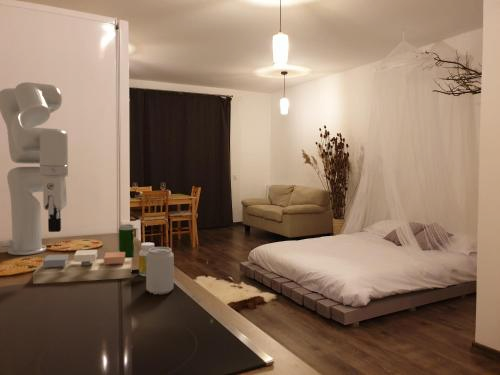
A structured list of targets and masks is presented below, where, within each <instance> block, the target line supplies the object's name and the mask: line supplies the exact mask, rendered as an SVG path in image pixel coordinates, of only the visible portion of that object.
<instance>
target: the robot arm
mask: <svg viewBox="0 0 500 375" xmlns="http://www.w3.org/2000/svg"><path fill="white" fill-rule="evenodd" d="M62 101H63V98H62V93H61V90H60V89H59V87H57V86H55V85H53V84H46V83H39V82H30V81H29V82H27V81H26V82H21V83H19V84H17V85H16V86H15V88H13V87H11V88H10V87H8V88H3V89H1V90H0V115H1V117H2V120H3V122H4V124H5V125H6V129H7V141H8V150H9V156H10V159H11V161H12V163H15V164H21V165H22V164H23V165H24V164H25V165H31V164H34V165H37V164H38V165H39V166H17V167H14V168H11V169H10V170H9V171H8V172H7V175H6V180H7V185H8V189H9V196H10V197H9V198H10V208H11V209H10V210H11V211H10V212H11V213H10V215H11V237H12V238H11V239H10V240H9V241H8V240H6V241H5V240H2V241H1V240H0V247H1V248H8V249H7V253H8V254H9V255H12V256H27V255H28V256H29V255H35V254H39V253H40V254H41V253H43V252H45V251H47V245H45V244H43V243H42V211H41V209H42V208H41V202H40V201H39V199H37V197H36V196H35V195H34V194H33V193H43V194H42V197H43V198H42V200H43V201H42V203H43V209H44V210H45V211H47V215H48V216H47V218H48V219H47V220H48V221H47V223H48V224H47V225H48V230H47V231H48V232H49V233H57V232H58V233H60V232H61V230H62V218H61V213H62V210H63V209H64V208H65V207H66V206H67V204H68V200H67V198H68V197H67V181H66V177H68V176H69V167H68V166H69V164H68V163H69V161H68V160H69V156H68V155H69V154H68V152H69V149H68V148H69V147H68V144H69V141H68V133H67V131H65V130H62V129H57V128H48V127H47V128H46V127H39V126H41V125H43V124H45V123H46V122H48V120H49V119H50V116H51V114H52V113H54V112H56V111H58V110H59V109H60V108H61V106H62V103H63V102H62ZM37 126H38V127H37Z"/></svg>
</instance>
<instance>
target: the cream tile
mask: <svg viewBox="0 0 500 375" xmlns="http://www.w3.org/2000/svg"><path fill="white" fill-rule="evenodd" d="M97 257H98V249H82V250H80V249H79V250H76V251H75V253H74V254H73V260H74V262H81V264H82V265H90V264H91V261H96V259H97Z"/></svg>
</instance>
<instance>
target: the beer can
mask: <svg viewBox="0 0 500 375" xmlns="http://www.w3.org/2000/svg"><path fill="white" fill-rule="evenodd" d="M117 230H118V252H125V258H132V260H134V258H135V227H134V224H126V223H125V224H120V225H118V228H117Z"/></svg>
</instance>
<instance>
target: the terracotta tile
mask: <svg viewBox="0 0 500 375" xmlns="http://www.w3.org/2000/svg"><path fill="white" fill-rule="evenodd" d="M103 259H104V264H111V265H119V263H125V252H119V251H116V252H115V251H114V252H105V254H104V257H103Z"/></svg>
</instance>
